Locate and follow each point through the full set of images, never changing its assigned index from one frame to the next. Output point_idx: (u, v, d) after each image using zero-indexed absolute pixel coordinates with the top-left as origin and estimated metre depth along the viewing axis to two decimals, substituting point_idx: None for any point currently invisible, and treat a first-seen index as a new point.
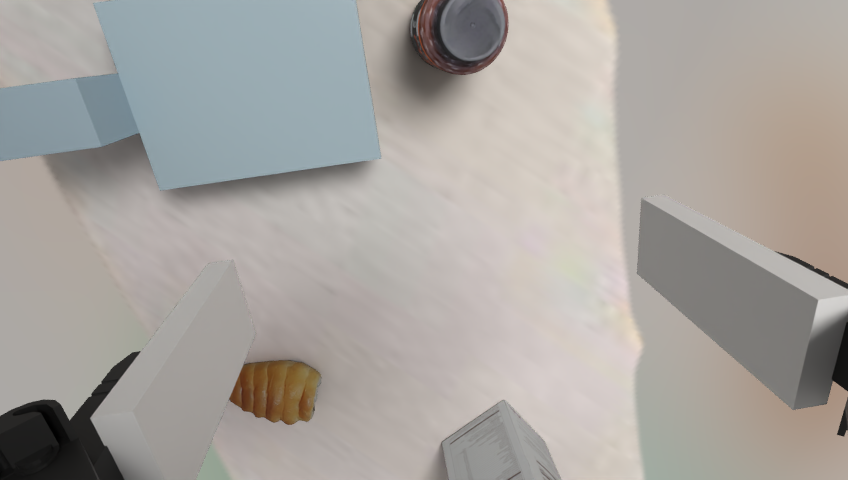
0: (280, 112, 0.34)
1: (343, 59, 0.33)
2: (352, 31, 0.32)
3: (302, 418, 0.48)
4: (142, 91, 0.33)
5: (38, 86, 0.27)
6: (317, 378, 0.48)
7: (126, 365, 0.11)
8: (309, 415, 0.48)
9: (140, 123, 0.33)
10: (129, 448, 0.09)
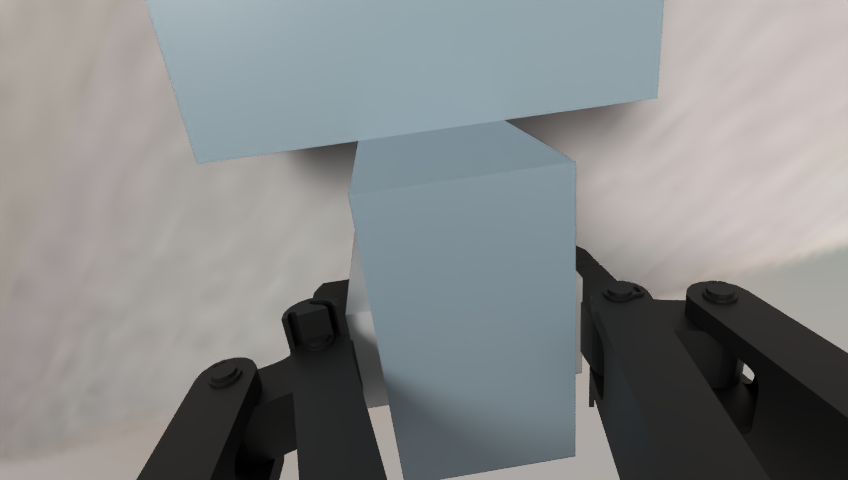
0: None
1: None
2: None
3: None
4: (400, 89, 0.12)
5: (376, 302, 0.09)
6: None
7: (324, 291, 0.13)
8: None
9: (481, 112, 0.13)
10: (369, 342, 0.11)
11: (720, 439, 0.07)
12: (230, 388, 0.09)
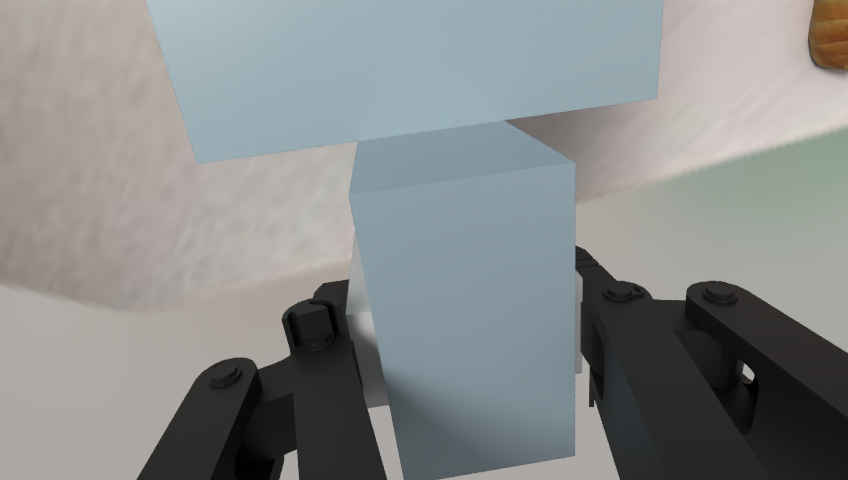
0: None
1: None
2: None
3: None
4: (400, 89, 0.12)
5: (376, 301, 0.09)
6: None
7: (324, 291, 0.13)
8: None
9: (481, 112, 0.13)
10: (369, 342, 0.11)
11: (719, 438, 0.07)
12: (230, 388, 0.09)
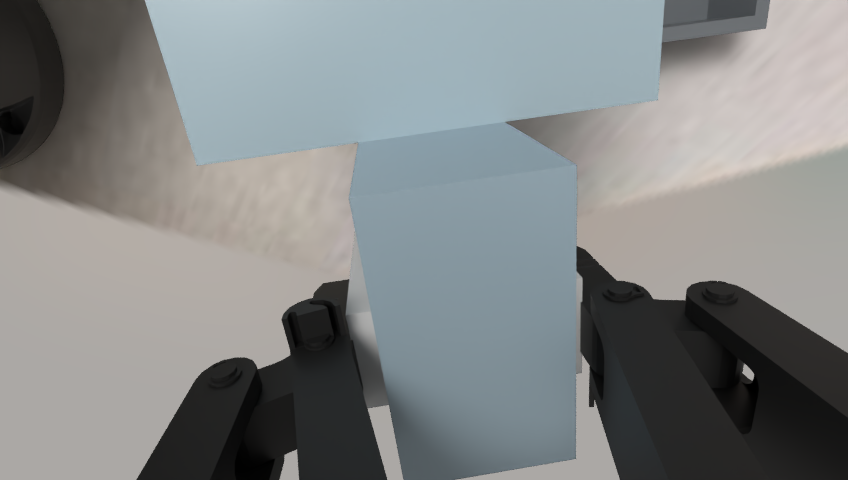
0: None
1: None
2: None
3: None
4: (401, 91, 0.12)
5: (377, 305, 0.09)
6: None
7: (324, 291, 0.13)
8: None
9: (481, 113, 0.13)
10: (369, 342, 0.11)
11: (720, 439, 0.07)
12: (230, 388, 0.09)
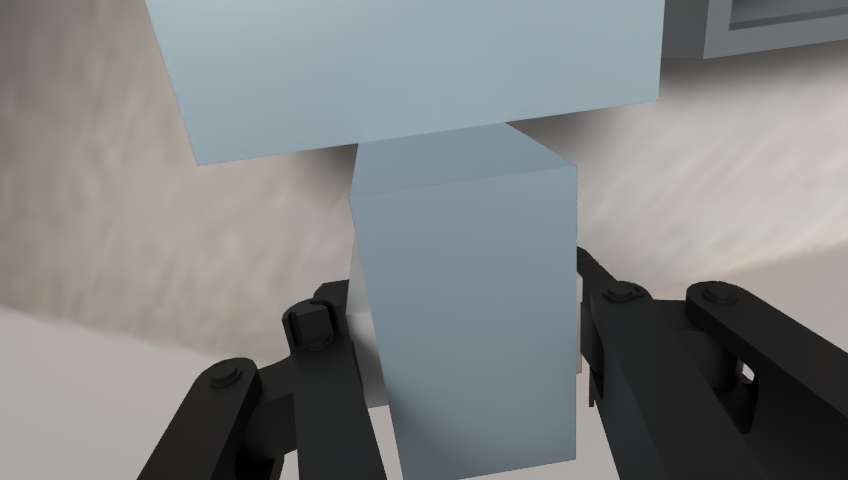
0: None
1: None
2: None
3: None
4: (401, 91, 0.12)
5: (377, 305, 0.09)
6: None
7: (324, 291, 0.13)
8: None
9: (481, 114, 0.13)
10: (368, 342, 0.11)
11: (720, 439, 0.07)
12: (230, 388, 0.09)
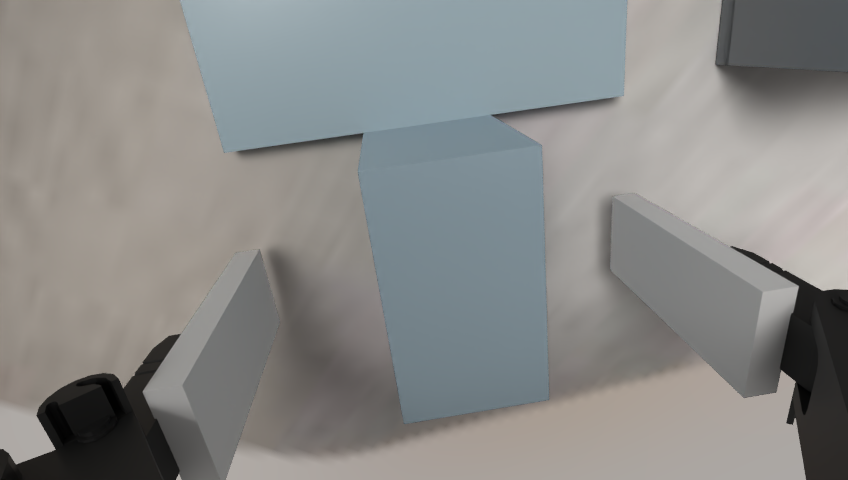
0: None
1: None
2: None
3: None
4: (400, 88, 0.14)
5: (380, 261, 0.11)
6: None
7: (164, 347, 0.12)
8: None
9: (470, 107, 0.15)
10: (176, 421, 0.09)
11: None
12: None
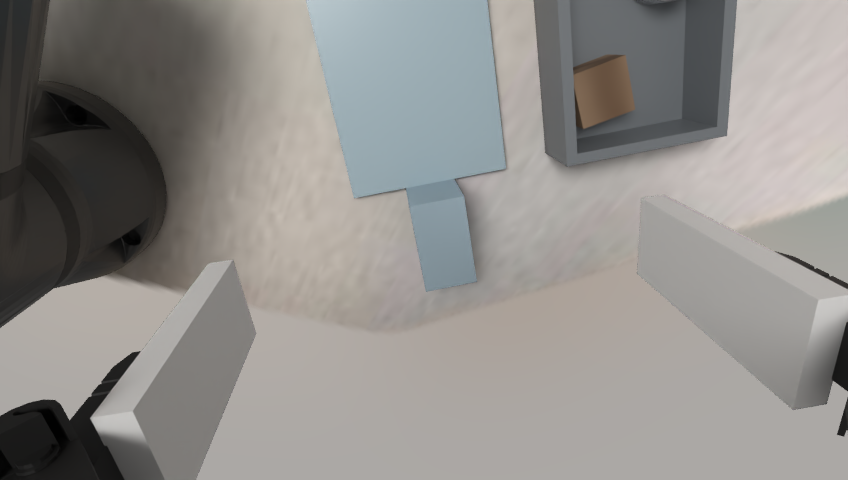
0: (433, 48, 0.35)
1: None
2: None
3: None
4: (419, 171, 0.38)
5: (416, 233, 0.35)
6: None
7: (125, 365, 0.11)
8: None
9: (446, 176, 0.38)
10: (129, 448, 0.09)
11: None
12: None
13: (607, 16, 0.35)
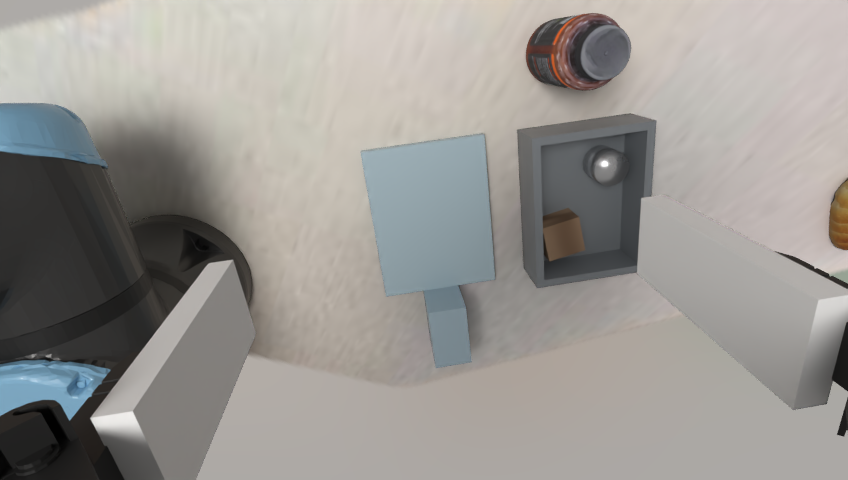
0: (448, 202, 0.50)
1: (415, 159, 0.48)
2: (397, 152, 0.48)
3: None
4: (434, 279, 0.54)
5: (431, 330, 0.50)
6: None
7: (125, 365, 0.11)
8: None
9: (452, 283, 0.54)
10: (129, 448, 0.09)
11: None
12: None
13: (569, 184, 0.51)
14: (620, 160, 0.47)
